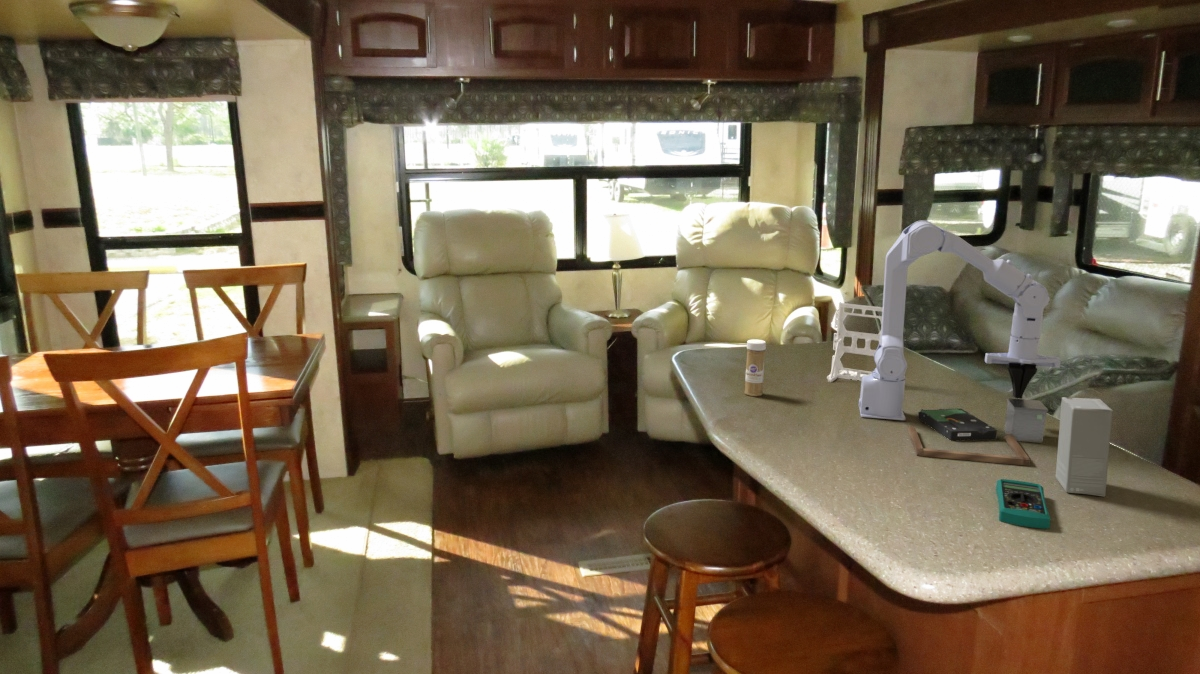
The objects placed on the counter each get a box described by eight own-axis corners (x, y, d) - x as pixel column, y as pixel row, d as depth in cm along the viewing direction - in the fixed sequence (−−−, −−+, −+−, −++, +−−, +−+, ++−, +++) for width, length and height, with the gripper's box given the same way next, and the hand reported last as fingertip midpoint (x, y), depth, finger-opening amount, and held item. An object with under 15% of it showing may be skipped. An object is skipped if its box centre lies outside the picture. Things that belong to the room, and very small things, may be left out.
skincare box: (1105, 498, 143) (1119, 411, 139) (1060, 492, 145) (1072, 407, 141) (1092, 480, 151) (1105, 397, 147) (1049, 475, 153) (1061, 393, 149)
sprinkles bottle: (744, 396, 200) (747, 342, 197) (744, 391, 204) (746, 338, 201) (763, 397, 199) (766, 343, 196) (762, 391, 203) (765, 339, 200)
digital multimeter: (998, 525, 133) (1000, 508, 133) (995, 491, 146) (997, 475, 146) (1049, 533, 130) (1052, 516, 130) (1041, 498, 144) (1043, 482, 143)
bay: (916, 455, 162) (917, 449, 162) (907, 430, 176) (908, 425, 176) (1029, 465, 157) (1030, 460, 157) (1011, 439, 171) (1011, 434, 171)
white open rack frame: (893, 377, 217) (900, 303, 213) (880, 390, 206) (887, 312, 201) (839, 369, 225) (845, 297, 220) (823, 381, 213) (829, 305, 209)
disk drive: (997, 442, 172) (959, 419, 186) (999, 430, 171) (961, 407, 185) (950, 443, 170) (916, 419, 185) (951, 431, 170) (917, 408, 184)
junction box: (1009, 440, 171) (1014, 407, 169) (1002, 430, 177) (1006, 398, 175) (1043, 443, 169) (1048, 409, 168) (1035, 433, 176) (1039, 400, 174)
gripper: (992, 338, 174) (985, 399, 177) (1068, 342, 171) (1059, 405, 174) (985, 331, 181) (978, 390, 184) (1058, 335, 177) (1049, 395, 181)
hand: (1017, 397), depth 179 cm, fingers closed
